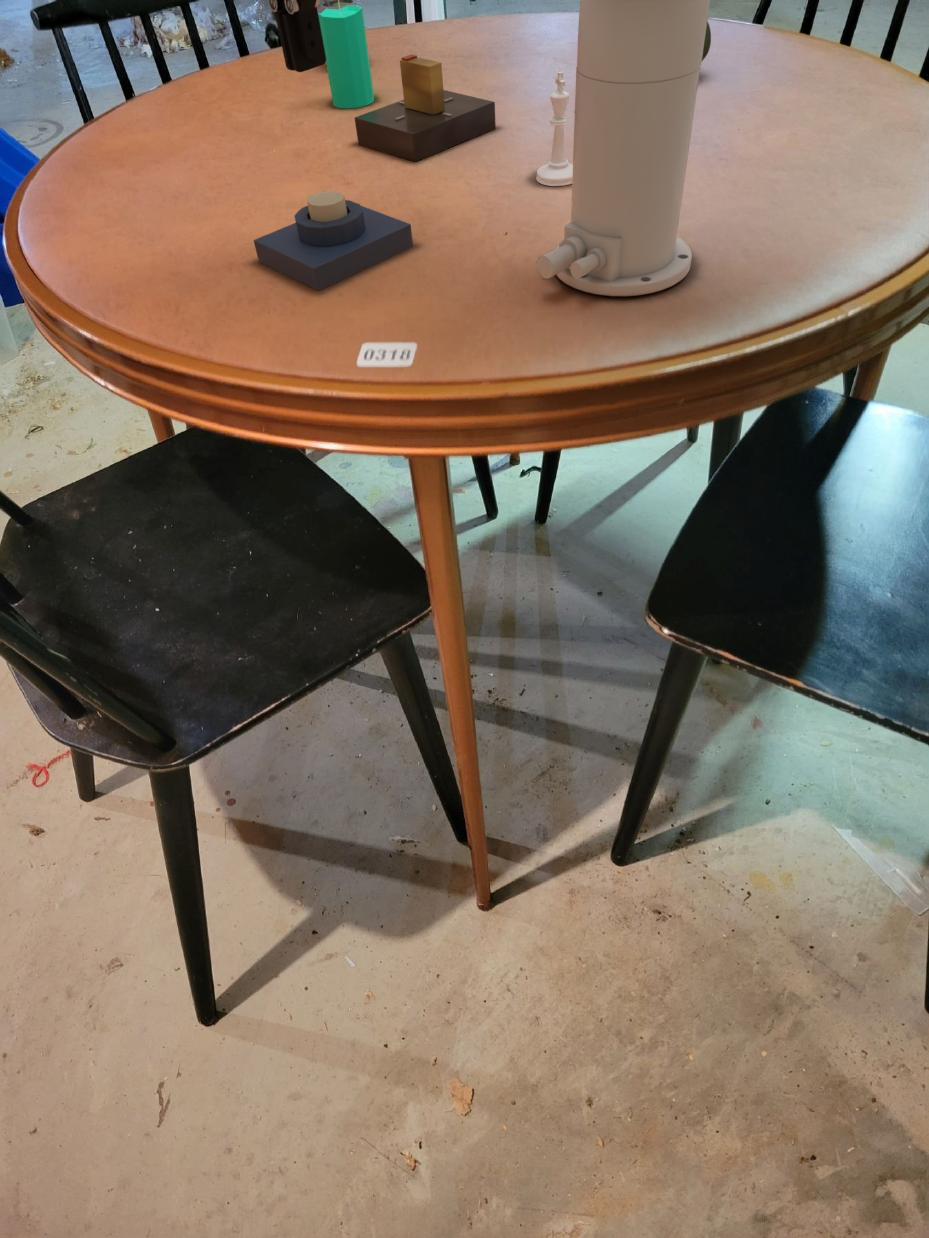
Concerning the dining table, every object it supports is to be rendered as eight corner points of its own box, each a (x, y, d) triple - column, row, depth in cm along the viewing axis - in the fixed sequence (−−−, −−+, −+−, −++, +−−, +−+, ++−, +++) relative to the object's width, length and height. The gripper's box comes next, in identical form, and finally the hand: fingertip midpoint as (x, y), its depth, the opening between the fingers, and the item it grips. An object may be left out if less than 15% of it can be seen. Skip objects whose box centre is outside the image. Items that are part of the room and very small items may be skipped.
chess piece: (545, 189, 85) (546, 82, 77) (530, 174, 88) (529, 70, 81) (586, 181, 86) (592, 74, 78) (570, 167, 89) (574, 63, 81)
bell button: (325, 228, 73) (321, 208, 72) (303, 219, 75) (299, 199, 74) (355, 215, 75) (351, 196, 73) (332, 206, 76) (328, 187, 75)
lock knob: (445, 110, 96) (441, 60, 92) (433, 115, 95) (429, 64, 91) (416, 103, 98) (411, 53, 94) (404, 107, 98) (399, 58, 94)
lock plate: (415, 162, 93) (412, 132, 91) (358, 144, 99) (353, 116, 96) (495, 128, 99) (494, 100, 97) (437, 113, 105) (435, 86, 102)
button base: (318, 291, 72) (309, 248, 69) (259, 262, 77) (247, 221, 74) (413, 246, 77) (408, 204, 74) (351, 222, 83) (344, 181, 80)
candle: (380, 95, 112) (366, -10, 103) (366, 109, 108) (350, 1, 99) (342, 95, 113) (325, -9, 104) (326, 108, 109) (308, 2, 100)
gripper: (143, -237, 55) (223, 68, 69) (262, -256, 48) (326, 91, 61) (230, -247, 58) (290, 46, 72) (354, -265, 51) (395, 67, 65)
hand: (306, 66), depth 67 cm, fingers closed
